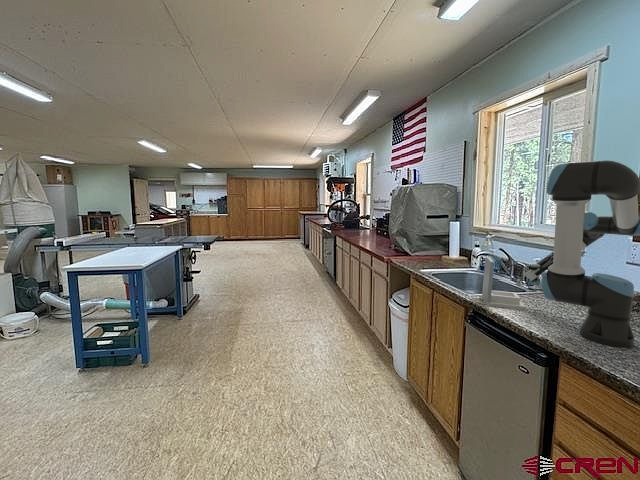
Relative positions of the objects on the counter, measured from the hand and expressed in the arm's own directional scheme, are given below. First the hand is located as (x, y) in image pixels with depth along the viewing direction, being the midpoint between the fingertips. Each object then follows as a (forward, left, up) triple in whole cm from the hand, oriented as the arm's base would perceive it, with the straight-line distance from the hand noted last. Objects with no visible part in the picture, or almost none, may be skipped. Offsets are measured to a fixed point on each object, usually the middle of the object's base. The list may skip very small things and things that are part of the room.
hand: (527, 277), depth 161 cm
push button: (0, -4, -4) cm, 5 cm away
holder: (-2, +10, -13) cm, 17 cm away
